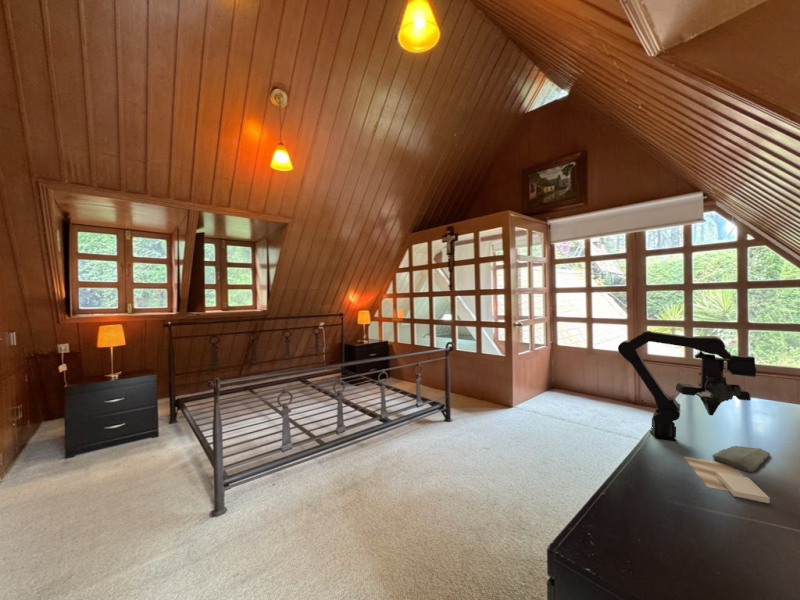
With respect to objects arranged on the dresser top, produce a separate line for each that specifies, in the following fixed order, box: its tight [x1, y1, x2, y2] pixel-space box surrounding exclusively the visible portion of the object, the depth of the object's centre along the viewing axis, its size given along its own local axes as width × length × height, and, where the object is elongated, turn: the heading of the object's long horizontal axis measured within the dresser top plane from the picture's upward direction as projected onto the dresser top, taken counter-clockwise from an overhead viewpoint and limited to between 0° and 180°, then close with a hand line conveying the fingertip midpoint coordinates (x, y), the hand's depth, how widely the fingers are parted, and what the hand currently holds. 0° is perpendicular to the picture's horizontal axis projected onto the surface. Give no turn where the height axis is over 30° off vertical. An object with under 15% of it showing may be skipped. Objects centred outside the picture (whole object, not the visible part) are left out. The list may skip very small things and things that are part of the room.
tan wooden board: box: [683, 456, 745, 492], centre depth 97 cm, size 18×12×1 cm
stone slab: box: [711, 445, 771, 473], centre depth 108 cm, size 22×3×10 cm
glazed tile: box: [716, 472, 771, 504], centre depth 90 cm, size 2×7×10 cm
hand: (710, 415), depth 114 cm, fingers closed
